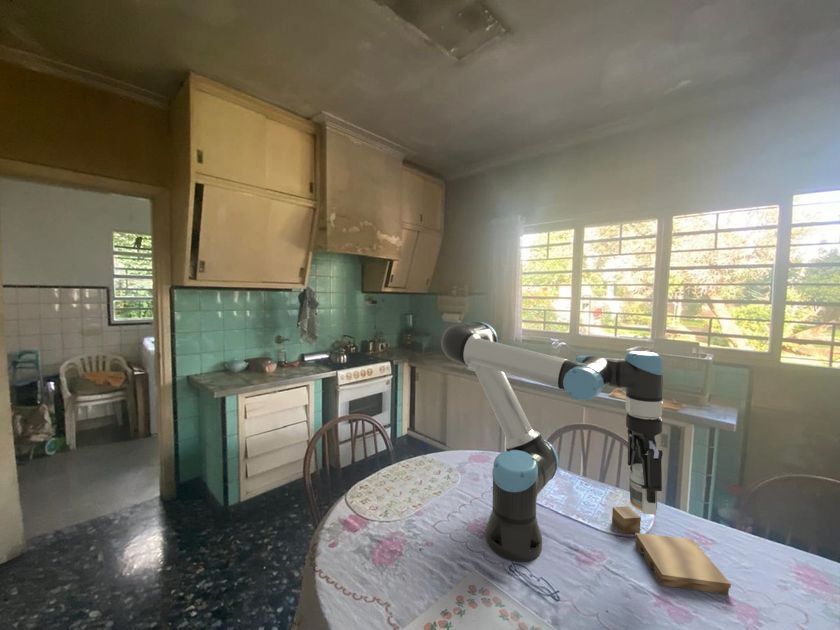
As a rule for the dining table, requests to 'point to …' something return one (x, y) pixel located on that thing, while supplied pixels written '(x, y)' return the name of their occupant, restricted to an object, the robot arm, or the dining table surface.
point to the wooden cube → (626, 520)
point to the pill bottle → (637, 486)
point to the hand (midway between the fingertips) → (643, 505)
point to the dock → (681, 563)
